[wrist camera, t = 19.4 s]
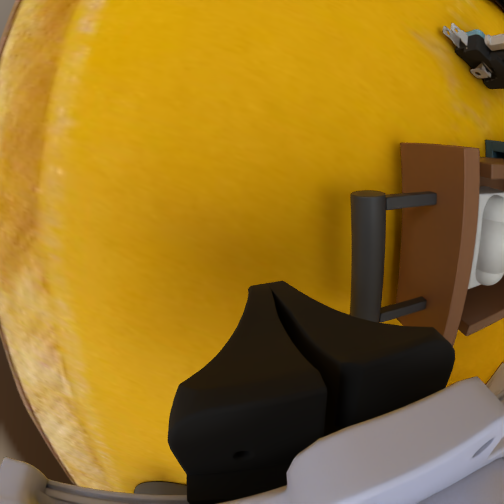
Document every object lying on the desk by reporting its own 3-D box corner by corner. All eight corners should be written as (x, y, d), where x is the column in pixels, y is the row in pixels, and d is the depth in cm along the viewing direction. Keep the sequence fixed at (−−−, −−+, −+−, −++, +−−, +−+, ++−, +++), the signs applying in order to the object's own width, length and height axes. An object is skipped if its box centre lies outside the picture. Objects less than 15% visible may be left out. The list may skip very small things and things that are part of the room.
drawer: (330, 332, 18) (363, 388, 13) (324, 144, 14) (375, 144, 9) (504, 277, 20) (543, 302, 15) (516, 151, 16) (564, 161, 11)
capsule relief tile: (477, 267, 17) (510, 287, 14) (448, 276, 17) (482, 299, 13) (485, 185, 15) (524, 196, 12) (455, 187, 15) (497, 199, 11)
